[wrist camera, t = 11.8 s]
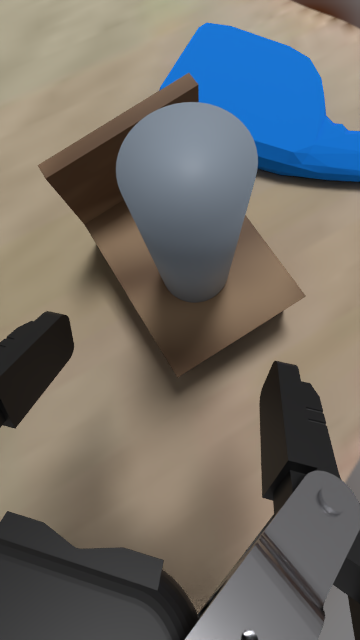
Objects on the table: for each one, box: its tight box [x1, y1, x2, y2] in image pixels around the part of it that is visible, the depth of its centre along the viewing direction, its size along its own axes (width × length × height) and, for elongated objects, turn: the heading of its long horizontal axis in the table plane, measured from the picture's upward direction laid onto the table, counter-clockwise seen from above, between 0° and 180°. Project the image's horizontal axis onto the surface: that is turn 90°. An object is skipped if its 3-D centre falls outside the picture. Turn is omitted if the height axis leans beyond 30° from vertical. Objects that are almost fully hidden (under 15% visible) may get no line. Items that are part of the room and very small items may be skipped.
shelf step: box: [38, 73, 305, 378], centre depth 18 cm, size 14×10×9 cm
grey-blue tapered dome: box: [116, 102, 258, 303], centre depth 14 cm, size 5×5×10 cm
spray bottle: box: [159, 23, 360, 182], centre depth 23 cm, size 3×11×24 cm
